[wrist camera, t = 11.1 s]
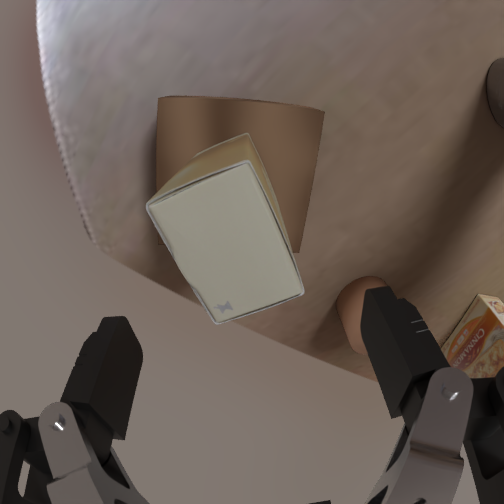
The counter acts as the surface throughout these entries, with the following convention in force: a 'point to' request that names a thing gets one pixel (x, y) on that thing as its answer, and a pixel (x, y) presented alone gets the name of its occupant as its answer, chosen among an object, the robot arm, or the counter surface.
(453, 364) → the coffeecake box
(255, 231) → the skincare box
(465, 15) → the counter surface
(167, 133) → the walnut block
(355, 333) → the pink rounded knob
